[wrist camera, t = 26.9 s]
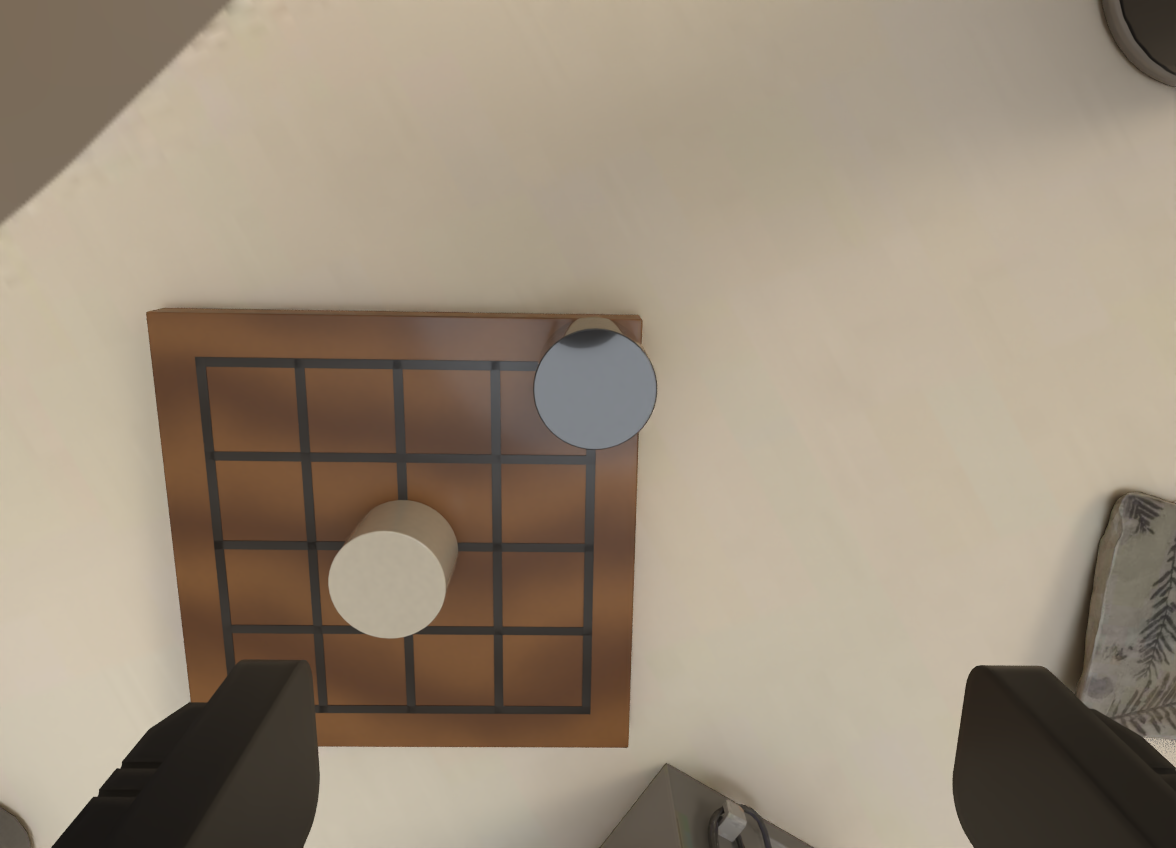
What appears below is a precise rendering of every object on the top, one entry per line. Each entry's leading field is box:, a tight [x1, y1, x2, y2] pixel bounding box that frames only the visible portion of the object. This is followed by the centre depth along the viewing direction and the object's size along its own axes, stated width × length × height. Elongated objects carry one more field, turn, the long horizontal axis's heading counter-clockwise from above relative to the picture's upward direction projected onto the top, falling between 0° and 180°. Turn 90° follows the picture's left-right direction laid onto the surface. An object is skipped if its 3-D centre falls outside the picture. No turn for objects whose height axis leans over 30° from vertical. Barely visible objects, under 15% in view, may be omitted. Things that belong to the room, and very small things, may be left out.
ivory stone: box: [328, 500, 458, 639], centre depth 34 cm, size 5×5×4 cm
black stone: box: [533, 317, 657, 450], centre depth 32 cm, size 5×5×4 cm
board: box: [146, 308, 642, 748], centre depth 36 cm, size 20×20×2 cm
